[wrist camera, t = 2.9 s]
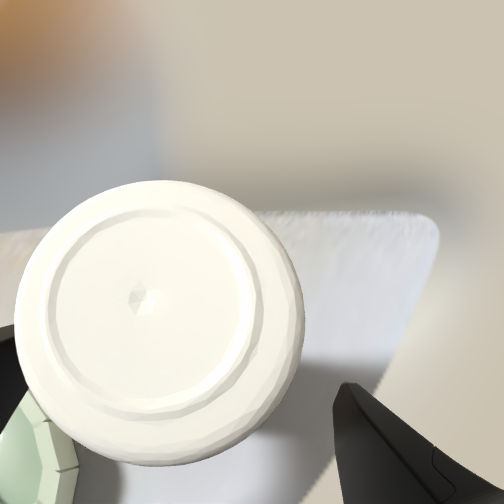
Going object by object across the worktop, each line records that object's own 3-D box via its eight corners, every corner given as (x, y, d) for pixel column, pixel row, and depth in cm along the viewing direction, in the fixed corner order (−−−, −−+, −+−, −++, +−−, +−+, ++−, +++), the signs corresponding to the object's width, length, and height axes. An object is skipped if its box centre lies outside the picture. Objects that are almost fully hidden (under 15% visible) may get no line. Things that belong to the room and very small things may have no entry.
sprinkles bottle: (192, 330, 17) (159, 132, 6) (256, 384, 16) (372, 286, 5) (135, 388, 15) (-34, 295, 4) (200, 446, 14) (157, 538, 3)
